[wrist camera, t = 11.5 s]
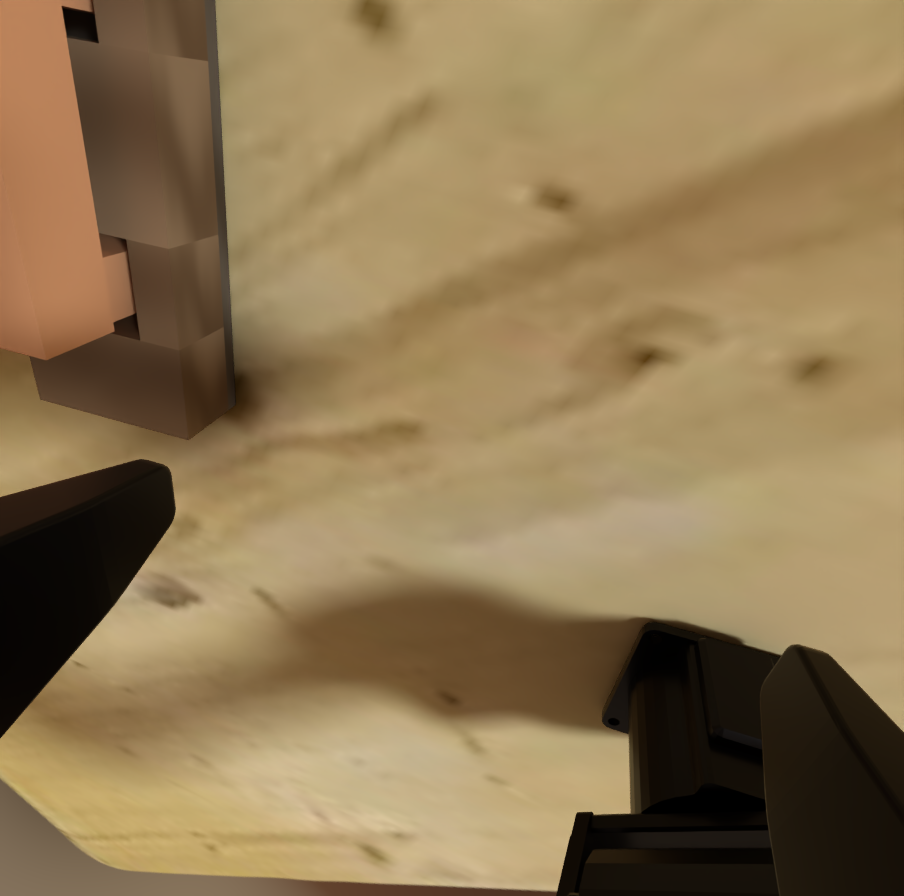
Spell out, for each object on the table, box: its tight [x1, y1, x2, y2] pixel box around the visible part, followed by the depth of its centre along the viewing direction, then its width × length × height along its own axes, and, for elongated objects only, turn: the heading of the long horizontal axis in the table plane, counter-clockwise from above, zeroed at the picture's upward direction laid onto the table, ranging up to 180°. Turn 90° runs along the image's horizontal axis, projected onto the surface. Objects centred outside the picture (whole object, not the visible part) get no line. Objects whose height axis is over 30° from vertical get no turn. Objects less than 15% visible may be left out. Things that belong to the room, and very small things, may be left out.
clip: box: [0, 0, 137, 360], centre depth 16 cm, size 10×3×6 cm, turn 171°
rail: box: [30, 0, 236, 440], centre depth 17 cm, size 18×6×3 cm, turn 171°
